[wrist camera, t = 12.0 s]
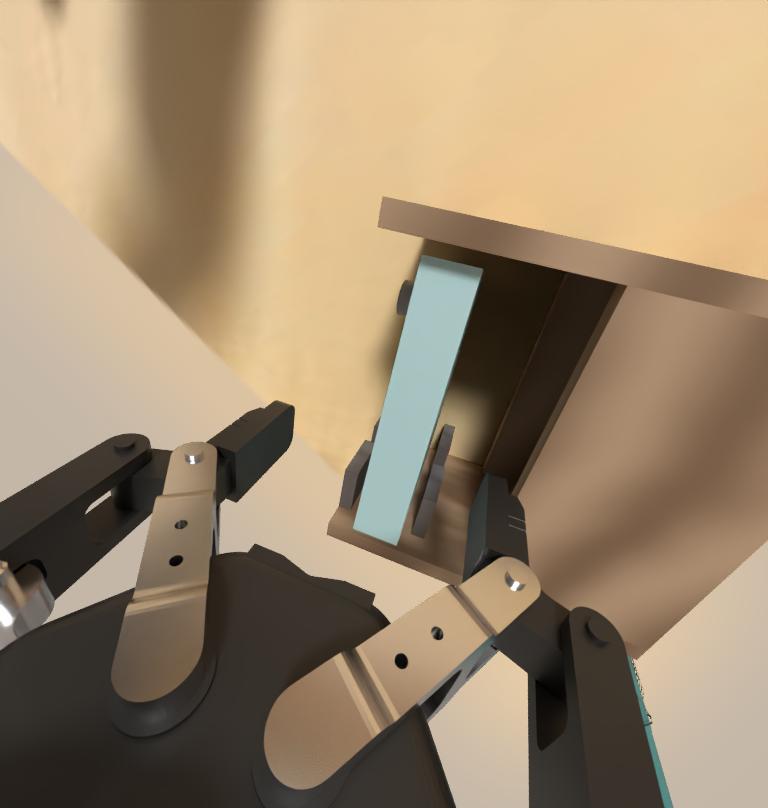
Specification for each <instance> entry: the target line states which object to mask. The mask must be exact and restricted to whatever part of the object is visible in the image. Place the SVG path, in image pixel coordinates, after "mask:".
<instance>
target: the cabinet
mask: <svg viewBox="0 0 768 808" xmlns="http://www.w3.org/2000/svg"><path fill="white" fill-rule="evenodd" d="M378 227H379V228H383V229H388V230H392V231H396V232H401V233H405V234H409V235H413V236H418V237H422V238H426V239H430V240H435V241H439V242H443V243H448V244H452V245H456V246H460V247H465V248H469V249H473V250H478V251H482V252H486V253H490V254H495V255H499V256H503V257H507V258H512V259H516V260H520V261H525V262H529V263H533V264H537V265H542V266H546V267H550V268H554V269H559V270H563V271H566V274H565V276H564V278H563V281H562V283H561V285H560V288H559V290H558V292H557V295H556V297H555V299H554V302H553V304H552V306H551V309H550V311H549V313H548V316H547V318H546V320H545V323H544V325H543V327H542V330H541V332H540V334H539V337H538V339H537V341H536V344H535V346H534V348H533V351H532V353H531V355H530V358H529V360H528V362H527V365H526V367H525V369H524V372H523V374H522V376H521V379H520V381H519V383H518V386H517V388H516V390H515V393H514V395H513V397H512V400H511V402H510V404H509V407H508V409H507V411H506V414H505V416H504V418H503V421H502V423H501V425H500V428H499V430H498V432H497V435H496V437H495V439H494V442H493V444H492V446H491V449H490V451H489V453H488V456H487V458H486V460H485V463H484V465H483V466H480V465H477V464H475V463H472V462H469V461H466V460H463V459H460V458H457V457H454V456H451V455H448V453H449V450H450V446H451V442H452V438H453V433H454V429H455V427H453V426H450V425H447V424H445V426H444V429H443V432H442V435H441V438H440V441H439V444H438V447H437V450H433V449H430V448H429V451H428V454H427V457H426V461H425V464H424V467H423V470H422V473H421V476H420V479H419V481H418V484H417V487H416V490H415V493H414V496H413V499H412V502H411V505H410V508H409V511H408V514H407V517H406V520H405V523H404V526H403V529H402V532H401V535H400V538H399V540H398V543H397V546H396V545H393V544H391V543H388V542H385V541H383V540H380V539H378V538H375V537H373V536H370V535H368V534H365V533H362V532H360V531H357V530H355V529H353V526H354V522H355V518H356V514H357V510H358V506H359V502H360V498H361V494H362V490H363V486H364V482H365V478H366V474H367V470H368V466H369V462H370V458H371V454H372V450H373V446H374V442H375V438H376V434H377V430H378V426H379V422H380V418H381V417H380V418H379V420H378V421H377V423H376V425H375V426H374V431H373V436H372V440H371V442H370V441H367V440H365V441H364V443H363V444H362V446H361V447H360V449H359V450H358V452H357V453H356V455H355V456H354V458H353V459H352V461H351V462H350V464H349V465H348V467H347V468H346V470H345V475H344V480H343V486H342V492H341V497H340V503H339V507H338V509H337V510H336V512H335V514H334V515H333V517H332V519H331V520H330V522H329V524H328V531H327V535H330V536H332V537H334V538H337V539H339V540H342V541H344V542H347V543H349V544H352V545H354V546H357V547H359V548H361V549H364V550H366V551H369V552H371V553H374V554H376V555H379V556H381V557H384V558H386V559H389V560H391V561H394V562H396V563H399V564H401V565H403V566H406V567H408V568H411V569H413V570H416V571H418V572H421V573H423V574H426V575H428V576H431V577H433V578H436V579H438V580H441V581H443V582H445V583H448V584H450V585H451V584H452V585H454V586H455V587H458V586H460V585H461V584H462V579H463V569H464V559H465V550H466V540H467V531H468V521H469V514H470V510H471V506H472V504H473V501H474V499H475V497H476V494H477V492H478V490H479V488H480V485H481V483H482V481H483V479H484V477H485V475H486V473H490V474H493V475H496V476H499V477H502V478H505V479H507V481H508V494H510V495H513V496H516V497H518V499H519V501H520V502H521V504H522V506H523V508H524V511H525V523H526V534H527V545H528V556H529V567H530V569H531V570H532V571H533V572H534V573H535V575H536V576H537V578H538V580H539V583H540V588H541V590H542V591H543V592H544V593H546V594H547V595H548V596H549V597H550V598H552V599H553V600H555V601H556V602H558V603H559V604H561V605H562V606H563V607H565V608H566V609H568V610H569V611H572V610H573V609H574V608H576V607H579V606H582V607H588V608H591V609H593V610H595V611H597V612H599V613H600V614H602V615H603V616H604V617H606V618H607V619H608V620H609V621H610V622H611V623H612V624H613V625H614V627H615V628H616V629H617V631H618V632H619V634H620V635H621V637H622V639H623V642H624V645H625V648H626V652H627V656H628V657H631V658H633V659H636V660H637V659H638V658H639V657H640V656H641V655H643V654H644V653H645V652H646V651H647V650H648V649H649V648H650V647H651V646H652V645H654V643H655V642H657V641H658V640H659V639H660V638H661V637H662V636H663V635H664V634H665V633H667V632H668V631H669V630H670V629H671V628H672V627H673V626H674V625H675V624H676V623H677V622H679V621H680V620H681V619H682V618H683V617H684V616H685V615H686V614H687V613H689V612H690V611H691V610H692V609H693V608H694V607H695V606H696V605H697V604H698V603H699V602H700V601H702V600H703V599H704V598H705V597H706V596H707V595H708V594H709V593H710V592H711V591H712V590H713V589H715V587H717V586H718V585H719V584H720V583H721V582H722V581H723V580H725V579H726V578H727V577H728V576H729V575H730V574H731V573H732V572H733V571H734V570H735V569H737V568H738V567H739V566H740V565H741V564H742V563H743V562H744V561H745V560H746V559H748V558H749V557H750V556H751V555H752V554H753V553H754V552H755V551H756V550H757V549H758V548H760V547H761V546H762V545H763V544H764V543H765V542H766V541H767V540H768V280H765V279H761V278H756V277H751V276H747V275H742V274H738V273H733V272H728V271H724V270H719V269H715V268H710V267H705V266H701V265H696V264H692V263H687V262H682V261H678V260H673V259H669V258H664V257H659V256H655V255H650V254H646V253H641V252H636V251H632V250H627V249H623V248H618V247H613V246H609V245H604V244H600V243H595V242H590V241H586V240H581V239H577V238H572V237H567V236H563V235H558V234H554V233H549V232H544V231H540V230H535V229H531V228H526V227H521V226H517V225H512V224H508V223H503V222H498V221H494V220H489V219H485V218H480V217H475V216H471V215H466V214H462V213H457V212H452V211H448V210H443V209H439V208H434V207H429V206H425V205H420V204H416V203H411V202H406V201H402V200H397V199H393V198H388V197H383V198H382V204H381V210H380V216H379V222H378Z"/></svg>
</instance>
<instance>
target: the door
mask: <svg viewBox="0 0 768 808" xmlns="http://www.w3.org/2000/svg"><path fill="white" fill-rule="evenodd" d="M482 279H483V269H482V268H478V267H473V266H469V265H465V264H461V263H456V262H452V261H448V260H444V259H440V258H435V257H431V256H427V255H423V254H422V255H421V259H420V263H419V267H418V271H417V275H416V279H415V282H412V281H408V280H405V281H404V283H403V285H402V287H401V290H400V293H399V297H398V301H397V314H398V315H402V316H406V319H405V323H404V327H403V331H402V335H401V339H400V343H399V347H398V351H397V355H396V359H395V363H394V367H393V371H392V375H391V379H390V383H389V387H388V391H387V395H386V399H385V403H384V406H383V410H382V414H381V418H380V422H379V426H378V430H377V434H376V438H375V442H374V446H373V450H372V454H371V458H370V462H369V466H368V470H367V474H366V478H365V482H364V486H363V490H362V494H361V498H360V502H359V506H358V510H357V514H356V518H355V522H354V526H353V529H355V530H357V531H360V532H362V533H365V534H368V535H370V536H373V537H375V538H378V539H380V540H383V541H385V542H388V543H391V544H393V545H396V546H397V543H398V540H399V538H400V535H401V532H402V529H403V526H404V523H405V520H406V517H407V514H408V511H409V508H410V505H411V502H412V499H413V496H414V493H415V490H416V487H417V484H418V481H419V479H420V476H421V473H422V470H423V467H424V464H425V461H426V457H427V454H428V451H429V448H430V444H431V441H432V438H433V435H434V432H435V429H436V426H437V422H438V419H439V416H440V413H441V410H442V407H443V403H444V400H445V397H446V394H447V391H448V388H449V384H450V381H451V378H452V375H453V372H454V369H455V365H456V362H457V359H458V356H459V353H460V350H461V346H462V343H463V340H464V337H465V334H466V331H467V327H468V324H469V321H470V318H471V315H472V312H473V308H474V305H475V302H476V299H477V296H478V293H479V289H480V286H481V283H482Z"/></svg>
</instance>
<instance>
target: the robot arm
mask: <svg viewBox="0 0 768 808" xmlns="http://www.w3.org/2000/svg"><path fill="white" fill-rule="evenodd" d="M294 415H295V408H294V406H292V405H289V404H286V403H283V402H280V401H277V400H276V401H274V402H272V403H271V404H270V405H268V406H267V407H266V408H265V409H263V408H258V409H255V410H252V411H249V412H247V413H246V414H244V415H243V416H242V417H240V418H239V420H236V421H235V422H233V423H232V425H229V426H228V427H227V428H225V429H224V430H223V431H221V432H220V433H218V434H217V435H216V436H214V437H213V438H211V439H210V440H209V441H207V442H206V443H205V442H191V443H187V444H184V445H181V446H180V447H178V448H176V449H175V450H174V451H169V450H160V449H151V445H150V441H149V439H148V438H147V437H146V436H144V435H140V434H122V435H118V436H114V437H112V438H110V439H108V440H106V441H104V442H102V443H101V444H99V445H97V446H96V447H94V448H92V449H90V450H89V451H87V452H85V453H84V454H82V455H80V456H79V457H77V458H75V459H74V460H72V461H70V462H68V463H67V464H65V465H63V466H62V467H60V468H58V469H56V470H55V471H53V472H51V473H50V474H48V475H46V476H45V477H43V478H41V479H40V480H38V481H36V482H34V483H33V484H31V485H29V486H28V487H26V488H24V489H23V490H21V491H20V492H17V493H16V494H14V495H13V496H11V497H9V498H7V499H6V500H4V501H2V502H0V808H456V806H455V803H454V800H453V797H452V794H451V791H450V788H449V785H448V782H447V779H446V776H445V773H444V770H443V767H442V764H441V761H440V758H439V755H438V752H437V749H436V746H435V743H434V741H433V738H432V734H431V731H430V728H429V726H428V722H429V721H430V720H431V719H432V718H433V717H434V716H435V715H436V714H437V713H438V712H439V711H440V710H441V709H442V708H443V707H444V706H445V705H446V704H447V703H448V702H449V701H450V700H451V698H452V697H453V696H454V695H455V694H456V693H457V691H458V690H459V689H460V688H461V687H462V686H463V685H464V684H465V683H466V682H467V681H468V680H469V679H470V678H471V677H472V676H473V675H474V674H475V673H476V672H477V671H478V670H480V669H481V668H482V667H483V666H484V665H485V664H486V663H487V662H488V660H490V659H491V658H492V657H493V656H494V655H495V654H496V653H497V652H498V651H501V652H502V653H503V654H504V655H506V656H507V657H508V658H510V659H511V660H512V661H513V662H514V663H516V664H517V665H518V666H519V667H521V668H522V669H523V670H524V671H526V672H527V673H528V735H529V736H528V740H529V741H528V742H529V808H665V807H664V803H663V799H662V795H661V791H660V787H659V783H658V779H657V774H656V770H655V766H654V762H653V758H652V754H651V750H650V746H649V742H648V738H647V734H646V730H645V726H644V722H643V717H642V713H641V709H640V705H639V701H638V697H637V693H636V689H635V685H634V681H633V677H632V673H631V669H630V665H629V660H628V656H627V652H626V648H625V645H624V642H623V639H622V637H621V635H620V634H619V632H618V631H617V629H616V628H615V627H614V625H613V624H612V623H611V622H610V621H609V620H608V619H607V618H606V617H604V616H603V615H602V614H600V613H599V612H597V611H595V610H593V609H591V608H588V607H582V606H579V607H576V608H574V609H573V610H572V611H569V610H568V609H566V608H565V607H563V606H562V605H561V604H559V603H558V602H556V601H555V600H553V599H552V598H550V597H549V596H548V595H547V594H546V593H544V592H543V591H542V590H541V588H540V583H539V580H538V578H537V576H536V575H535V573H534V572H533V571H532V570H531V569H530V567H529V556H528V545H527V534H526V523H525V511H524V508H523V506H522V504H521V502H520V501H519V499H518V497H516V496H513V495H510V494H508V481H507V479H505V478H502V477H499V476H496V475H493V474H490V473H486V475H485V477H484V479H483V481H482V483H481V485H480V488H479V490H478V492H477V494H476V497H475V499H474V501H473V504H472V506H471V510H470V514H469V521H468V531H467V540H466V550H465V559H464V569H463V579H462V584H461V585H460V586H458V587H456V588H455V587H454V585H452V584H451V585H448V586H446V587H445V588H443V589H442V590H440V591H439V592H437V593H436V594H434V595H433V596H431V597H430V598H428V599H427V600H425V601H424V602H422V603H421V604H419V605H418V606H417V607H415V608H414V609H412V610H411V611H409V612H408V613H406V614H405V615H403V616H402V617H400V618H399V619H398V620H396V621H394V622H393V623H390V622H389V621H388V619H387V618H386V617H385V616H384V615H383V614H382V612H381V611H380V610H378V609H377V608H376V607H375V606H373V605H372V604H373V601H374V597H375V594H374V593H372V592H369V591H367V590H365V589H362V588H360V587H358V586H355V585H353V584H350V583H348V582H346V581H341V580H334V579H328V578H321V577H314V576H310V575H308V574H306V573H305V572H304V571H302V570H301V569H300V568H299V567H297V566H296V565H295V564H294V563H292V562H291V561H290V560H288V559H287V558H286V557H285V556H283V555H281V554H279V553H276V552H274V551H272V550H269V549H267V548H264V547H262V546H260V545H257V544H254V545H253V547H252V548H251V549H250V551H249V552H248V553H247V552H230V553H224V554H219V536H220V503H222V502H223V501H224V500H225V499H229V500H231V501H234V502H238V501H239V500H240V499H241V498H242V497H243V496H244V495H245V493H246V492H247V491H248V490H249V489H250V488H251V487H252V486H253V485H254V484H255V483H256V482H257V481H258V480H259V479H260V478H261V477H262V475H264V473H266V472H267V471H268V469H269V468H270V467H271V466H272V465H273V464H274V463H275V462H276V461H277V460H278V459H279V458H280V457H281V456H282V455H283V454H284V453H285V452H286V451H287V449H288V448H289V446H290V444H291V441H292V438H293V428H294ZM108 491H111V496H109V497H108V498H107V499H105V500H104V501H103V502H101V503H100V504H99V505H98V506H96V507H95V508H93V509H92V510H91V511H89V512H88V513H87V514H85V513H86V511H87V509H88V507H89V506H90V505H91V504H92V503H93V502H95V501H96V500H97V499H99V498H100V497H101V496H103V495H104V494H105V493H107V492H108ZM151 513H152V517H151V522H150V526H149V530H148V535H147V539H146V543H145V548H144V552H143V557H142V561H141V565H140V569H139V574H138V578H137V583H136V587H135V588H132V589H130V590H127V591H125V592H122V593H120V594H118V595H115V596H113V597H110V598H108V599H105V600H103V601H100V602H98V603H95V604H93V605H90V606H88V607H86V608H83V609H80V610H78V611H75V612H73V613H70V614H68V615H65V616H63V617H60V618H58V619H56V620H53V621H51V622H48V623H46V624H43V623H44V622H45V621H46V619H47V618H48V617H49V616H50V614H51V612H52V610H53V607H54V602H55V600H56V599H57V598H58V597H59V596H60V595H61V594H63V593H64V592H65V591H66V590H67V589H68V588H69V587H70V586H72V585H73V584H74V583H75V582H76V581H77V580H78V579H79V578H80V577H81V576H83V575H84V574H85V573H86V572H87V571H88V570H89V569H90V568H91V567H93V566H94V565H95V564H96V563H97V562H98V561H99V560H100V559H102V558H103V557H104V556H105V555H106V554H107V553H108V552H109V551H110V550H111V549H112V548H114V547H115V546H116V545H117V544H118V543H119V542H121V541H122V540H123V539H124V538H125V537H126V536H127V535H128V534H129V533H131V531H133V530H134V529H135V528H136V527H137V526H138V525H139V524H140V523H142V522H143V521H144V520H145V519H146V518H147V517H148V516H149V515H151ZM42 624H43V625H42Z"/></svg>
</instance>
